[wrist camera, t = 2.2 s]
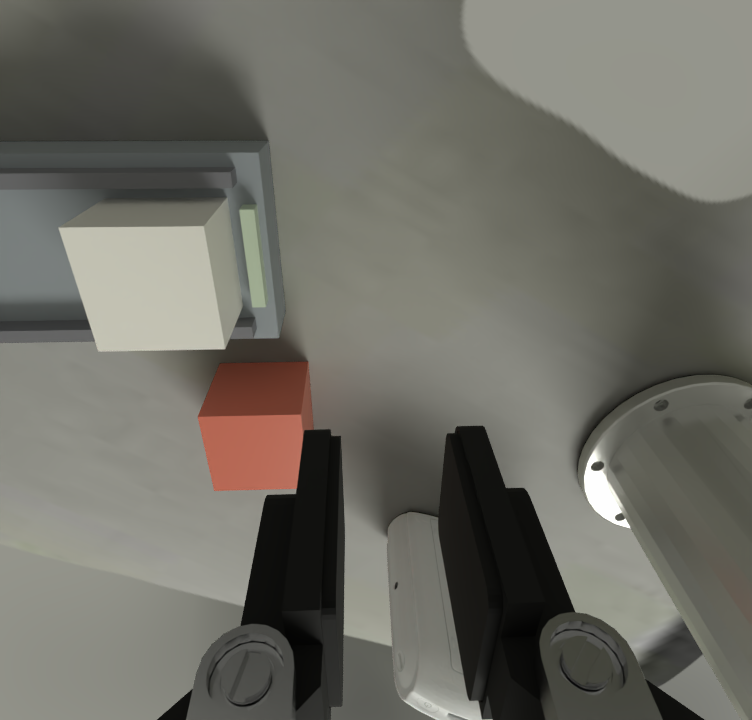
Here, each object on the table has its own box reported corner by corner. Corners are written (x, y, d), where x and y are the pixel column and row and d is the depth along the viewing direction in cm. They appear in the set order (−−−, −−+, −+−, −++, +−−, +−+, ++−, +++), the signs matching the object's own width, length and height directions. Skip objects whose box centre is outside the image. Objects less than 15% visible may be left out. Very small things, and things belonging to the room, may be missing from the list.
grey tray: (268, 140, 23) (254, 157, 20) (285, 310, 28) (276, 348, 24) (-75, 141, 23) (-151, 159, 19) (-2, 315, 27) (-52, 354, 24)
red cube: (308, 361, 29) (301, 414, 25) (313, 429, 32) (307, 488, 28) (220, 362, 29) (197, 416, 25) (232, 430, 32) (214, 490, 28)
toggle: (227, 197, 21) (203, 226, 18) (242, 306, 24) (225, 349, 21) (105, 198, 21) (58, 227, 18) (134, 307, 24) (98, 351, 20)
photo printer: (376, 541, 38) (385, 734, 27) (400, 502, 36) (420, 694, 25) (498, 571, 40) (550, 759, 30) (526, 536, 38) (594, 724, 28)
